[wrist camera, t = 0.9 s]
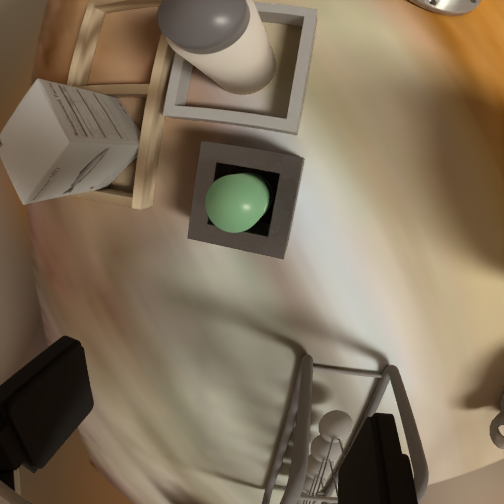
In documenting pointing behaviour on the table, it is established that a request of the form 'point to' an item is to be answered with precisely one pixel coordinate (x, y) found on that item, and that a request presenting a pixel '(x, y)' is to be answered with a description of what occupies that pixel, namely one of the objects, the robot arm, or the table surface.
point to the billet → (220, 41)
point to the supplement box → (66, 141)
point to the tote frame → (290, 125)
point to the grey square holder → (260, 234)
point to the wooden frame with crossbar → (155, 94)
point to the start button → (238, 201)
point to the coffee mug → (499, 420)
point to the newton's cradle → (334, 439)
